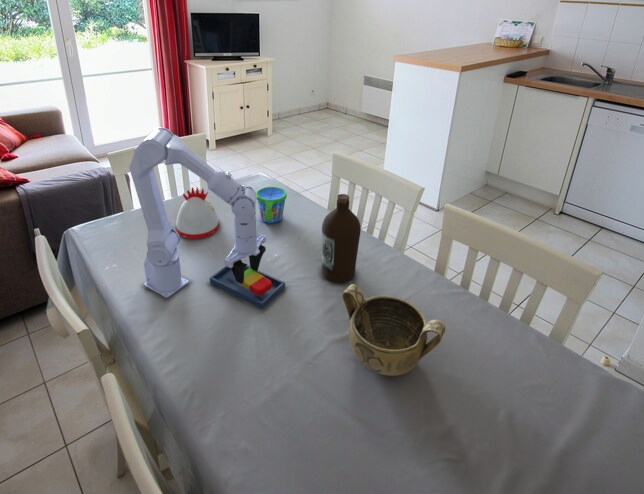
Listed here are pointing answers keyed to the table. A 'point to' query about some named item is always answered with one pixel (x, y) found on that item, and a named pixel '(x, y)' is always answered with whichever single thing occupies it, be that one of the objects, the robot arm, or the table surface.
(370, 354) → the ceramic bowl
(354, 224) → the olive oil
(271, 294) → the tray
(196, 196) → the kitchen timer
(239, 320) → the table surface
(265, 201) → the snack cup
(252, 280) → the popsicle
